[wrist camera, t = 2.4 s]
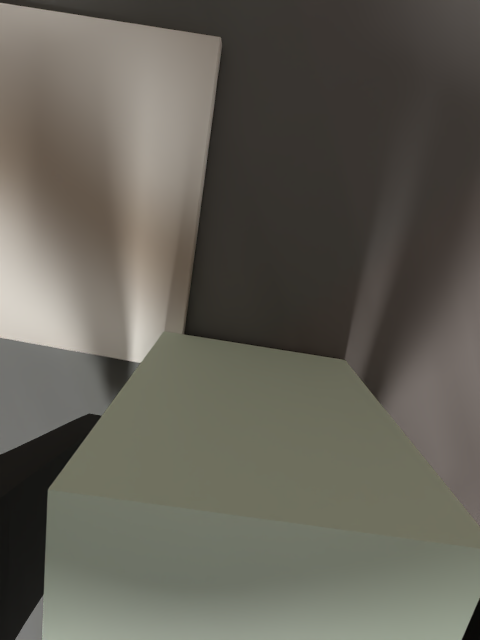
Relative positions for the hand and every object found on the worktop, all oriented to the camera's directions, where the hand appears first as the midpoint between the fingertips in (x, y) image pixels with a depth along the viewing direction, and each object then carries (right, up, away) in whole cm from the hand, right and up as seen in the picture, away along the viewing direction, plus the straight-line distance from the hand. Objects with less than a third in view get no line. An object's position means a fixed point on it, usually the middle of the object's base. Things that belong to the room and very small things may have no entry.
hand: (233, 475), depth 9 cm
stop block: (0, 0, +1) cm, 1 cm away
